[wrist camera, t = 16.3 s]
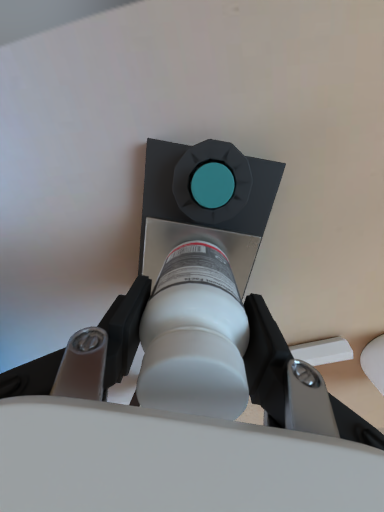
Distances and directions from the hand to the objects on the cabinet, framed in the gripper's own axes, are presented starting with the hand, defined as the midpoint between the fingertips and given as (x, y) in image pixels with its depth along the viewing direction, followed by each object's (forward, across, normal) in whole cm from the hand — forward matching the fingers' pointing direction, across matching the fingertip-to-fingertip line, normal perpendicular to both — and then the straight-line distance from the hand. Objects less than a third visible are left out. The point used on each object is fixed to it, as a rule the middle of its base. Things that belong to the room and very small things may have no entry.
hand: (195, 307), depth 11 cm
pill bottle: (+5, 0, 0) cm, 5 cm away
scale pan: (+6, 0, +1) cm, 6 cm away
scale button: (+7, 0, -6) cm, 9 cm away
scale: (+9, 0, -2) cm, 9 cm away
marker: (+9, -12, +12) cm, 19 cm away
